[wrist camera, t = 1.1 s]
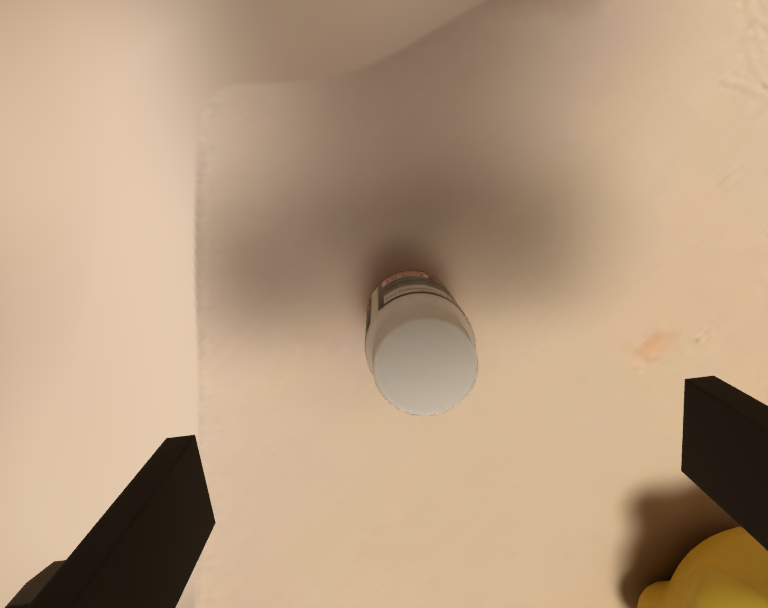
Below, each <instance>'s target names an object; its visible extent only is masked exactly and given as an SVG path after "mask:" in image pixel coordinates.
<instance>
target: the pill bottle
mask: <svg viewBox="0 0 768 608" xmlns="http://www.w3.org/2000/svg"><path fill="white" fill-rule="evenodd" d="M475 348H476V344H475V336H474V333H473V329H472V327H471V324H470V322H469V321H468V318H467V317H466V316H465V314H464V313H463V311H462V310H461V308H460V307H459V306H458V304H457V303H456V301H455V300H454V299H453V297H452V296H451V294H450V293H449V291H448V290H447V288H446V287H445V286H444V285H443V284H442V283H441V282H440V281H439V280H437V279H436V278H434V277H433V276H431V275H429V274H426V273H423V272H418V271H405V272H400V273H397V274H394V275H392V276H390V277H388V278H387V279H385V280H384V281H383V282H381V283H380V284H379V285H378V286H377V288H376V289H375V290H374V292H373V294H372V295H371V298H370V300H369V304H368V308H367V321H366V336H365V354H366V359H367V363H368V366H369V368H370V370H371V372H372V374H373V376H374V380H375V383H376V385H377V388H378V389H379V391H380V393H381V394H382V396H383V397H384V398H385V399H386V400H387V401H388V402H389V403H390V404H391V405H393V406H394V407H395V408H397V409H399V410H401V411H403V412H405V413H409V414H412V415H419V416H431V415H436V414H440V413H443V412H446V411H448V410H450V409H452V408H454V407H455V406H457V405H458V404H459V403H460V402H462V401H463V400H464V399H465V397H466V396H467V395H468V394H469V392H470V391H471V389H472V387H473V385H474V383H475V380H476V377H477V372H478V358H477V354H476V350H475Z"/></svg>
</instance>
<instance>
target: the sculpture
mask: <svg viewBox="0 0 768 608" xmlns="http://www.w3.org/2000/svg"><path fill="white" fill-rule="evenodd" d="M637 608H768V551H767V550H766V549H765V548H764V547H763V546H762V545H761V544H760V543H759V542H757V541H756V540H755V539H754V538H753V537H752V536H751V535H750V534H749V533H748V532H747V531H746V530H745V529H744V528H742V527H736V528H733V529H729V530H725V531H723V532H720V533H718V534H716V535H713V536H711V537H709V538H708V539H706V540H704V541H702V542H701V543H700V544H698V545H697V546H696V547H694V548H693V549H692V550H691V551H690V552H689V553H688V554H687V555H686V556H685V557H684V558H683V560H682V561H681V562H680V564H679V565H678V567H677V569H676V571H675V572H674V574H673V576H672V578H671V580H670V581H657V582H655V583H654V584H652V585H650V586H649V587H647V588H645V589H644V591H643V592H642V593H641V595H640V598H639V600H638V605H637Z"/></svg>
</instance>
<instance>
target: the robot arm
mask: <svg viewBox="0 0 768 608" xmlns="http://www.w3.org/2000/svg"><path fill="white" fill-rule="evenodd" d="M681 471H682V472H683V473H684V474H685V475H687V476H688V477H689V478H690V479H691V480H692V481H693V482H694V483H695V484H696V485H697V486H698V487H699V488H701V489H702V490H703V491H704V492H705V493H706V494H707V495H708V496H709V497H710V498H711V499H712V500H713V501H714V502H716V503H717V504H718V505H719V506H720V507H721V508H722V509H723V510H724V511H725V512H726V513H727V514H728V515H730V516H731V517H732V518H733V519H734V520H735V521H736V522H737V523H738V524H739V525H740V526H741V527H742V528H744V529H745V530H746V531H747V532H748V533H749V534H750V535H751V536H752V537H753V538H754V539H755V540H756V541H757V542H759V543H760V544H761V545H762V546H763V547H764V548H765V549H766V550H767V551H768V406H767V405H765V404H763V403H761V402H760V401H758V400H756V399H754V398H753V397H751V396H749V395H747V394H745V393H744V392H742V391H740V390H738V389H736V388H735V387H733V386H731V385H729V384H728V383H726V382H724V381H722V380H720V379H719V378H717V377H715V376H708V377H699V378H690V379H685V391H684V416H683V441H682V466H681ZM214 525H215V519H214V515H213V510H212V506H211V502H210V497H209V493H208V489H207V485H206V480H205V476H204V472H203V467H202V463H201V459H200V455H199V450H198V446H197V442H196V437H195V435H190V436H181V437H173V438H167V439H166V440H165V441H164V442H163V443H162V444H161V446H160V447H159V448H158V449H157V450H156V452H155V453H154V454H153V455H152V457H151V458H150V459H149V460H148V461H147V463H146V464H145V465H144V466H143V467H142V469H141V470H140V471H139V472H138V474H137V475H136V476H135V477H134V479H133V480H132V481H131V482H130V483H129V484H128V486H127V487H126V488H125V489H124V491H123V492H122V493H121V494H120V495H119V497H118V498H117V499H116V500H115V502H114V503H113V504H112V505H111V506H110V508H109V509H108V510H107V511H106V513H105V514H104V515H103V516H102V517H101V518H100V520H99V521H98V522H97V523H96V524H95V526H94V527H93V528H92V529H91V531H90V532H89V533H88V534H87V536H86V537H85V538H84V539H83V540H82V541H81V543H80V544H79V545H78V546H77V548H76V549H75V550H74V551H73V552H72V554H71V555H70V556H69V557H68V559H67V560H64V561H56V562H53V563H52V564H50V565H49V566H48V567H46V568H45V569H44V570H43V571H41V572H40V573H39V574H37V575H36V576H35V577H34V578H32V579H31V580H30V581H28V582H27V583H26V584H25V585H24V586H23V588H22V589H21V590H20V591H19V592H18V593H17V594H16V596H15V597H14V598H13V599H12V600H11V601H10V602H9V603H8V605H7V606H6V607H5V608H175V607H176V605H177V603H178V601H179V599H180V597H181V595H182V592H183V590H184V588H185V586H186V584H187V582H188V580H189V578H190V576H191V574H192V571H193V569H194V567H195V565H196V563H197V561H198V559H199V557H200V555H201V552H202V550H203V548H204V546H205V544H206V542H207V540H208V538H209V535H210V533H211V531H212V529H213V527H214Z"/></svg>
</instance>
